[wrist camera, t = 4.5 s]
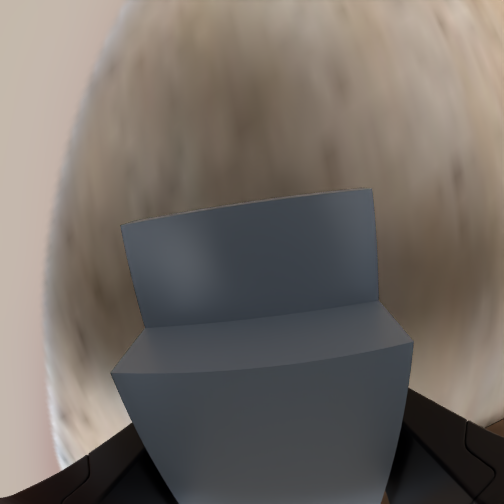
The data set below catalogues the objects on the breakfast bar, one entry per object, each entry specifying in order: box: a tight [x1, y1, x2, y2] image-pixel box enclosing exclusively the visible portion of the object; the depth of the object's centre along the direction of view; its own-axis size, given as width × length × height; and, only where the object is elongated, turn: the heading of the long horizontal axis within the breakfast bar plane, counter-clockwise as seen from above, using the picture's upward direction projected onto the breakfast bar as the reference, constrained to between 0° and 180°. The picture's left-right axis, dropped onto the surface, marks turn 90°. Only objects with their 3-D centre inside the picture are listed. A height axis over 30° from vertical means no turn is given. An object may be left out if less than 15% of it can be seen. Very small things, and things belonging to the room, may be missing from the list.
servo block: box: [111, 188, 414, 504], centre depth 7 cm, size 4×10×6 cm, turn 8°
